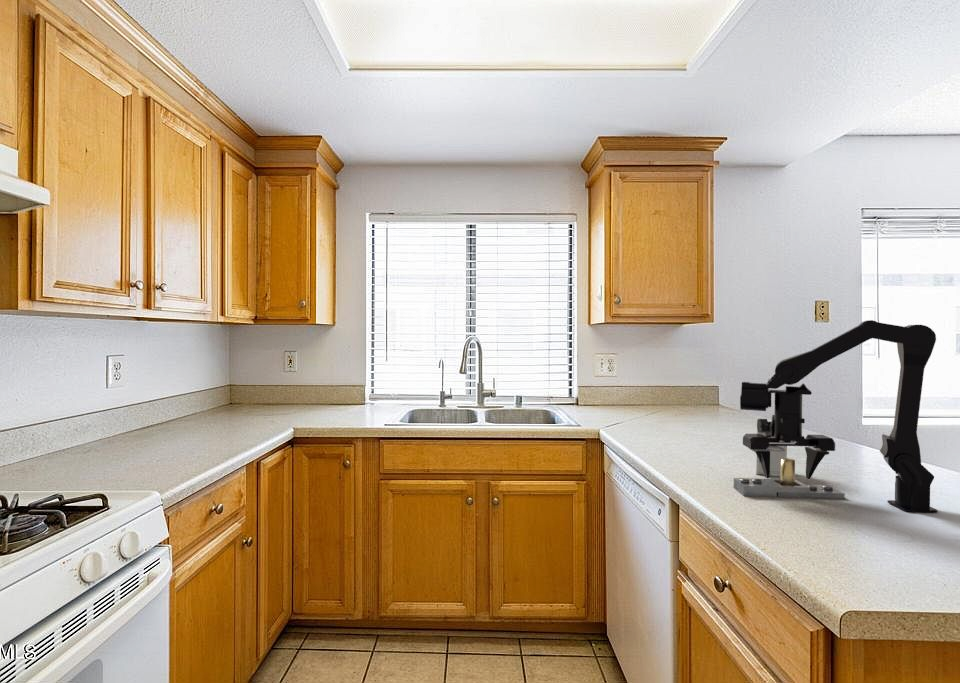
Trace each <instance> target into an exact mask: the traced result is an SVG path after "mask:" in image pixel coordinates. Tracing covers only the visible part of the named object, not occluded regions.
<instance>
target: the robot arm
mask: <svg viewBox="0 0 960 683" xmlns="http://www.w3.org/2000/svg"><path fill="white" fill-rule="evenodd" d="M872 339H873V340H874V339H875V340H878V341H879V340H880V341H885V342H890V343H896V346H897V347H896V348H897V353H898V359H899V363H900V364H899V365H900V370H899V378H898V385H897V386H898V387H897V395H896V404H895V412H894V422H893V427H892V430H891V431H890V434H889V435H887V434H884V433H883V434H881V439H882V440H881V442H882V444H881V445H882V446H881V448H880V449H879V453H880V454H881V455H882V456H883V457H882V458H883V459H884V461H885V462H886V464H887V465H888V466H889V468H890V469H891V470H892V471H894V473H895V474H896V475H895V482H894V483H895V484H894V500H892V499H890V500H887V503H888V504H890V505H892V506H894V507H896V508H898V509H900V510H902V511H904V512H915V513H916V512H917V513H938V512H939V510H938V509H937V508H934V507H933V506H931V485H932V483H933V481H934V479H935V476H934V474H932V473H931V471H929V470H928V469H927V468H926V467H925V466H924V465H922V456H921V449H920V448H921V447H920V443H919V437H918V424H919V417H920V415H919V414H920V408H921V398H922V391H923V381H924V373H925V368H926V366H927V364H928V361H929V359H930V358H931V356H932V353H933V351H934V348H935V344H936V342H937V335H936V333H935V331H934V330H933V329H932V328H931V327H929V326H927V325H924V324H908V325H906V326H901V325H896V324H890V323H889V324H888V323H885V322H884V323H883V322H878V321H876V320H871V319H870V320H869V319H868V320H864V321H861V322H860V323H859V324H858V325H856V326H854V327H853V328H851V329H849V330H847V331H845V332H843V333H842V334H840V335H838V336H836V337H834V338H831V339H830V340H828V341H826V342H824V343H822V344H820V345H819V346H817V347H815V348H812V349H811V350H809V351H805V352H803V353H799V354H796V355H793V356H789V357H787V358H784V359H781V360H780V361H778V362H777V364H776V365H775V369H774V375H772V376H771V378H768V380H767V382H766V383H765V382H764V383H763V382H761V383H760V382H750V381H742V382H741V392H740V393H741V394H740V397H739V398H740V400H739V404H740V407H739V409H740V411H741V410H742V411H754V412H755V411H756V412H757V411H758V412H767V409H769V408H772V394H774V414H772V415H771V421H768V419H767V418H758V419H756V420H757V421H756V422H757V423H756V432H757V431H758V432H759V433H765V436H764V435H762V434H757V433H745V434H744V435H743V437H742V445H743V446H744V447H746V448H748V449H749V450H750V451H752V452H754V453H755V456H756V455H757V456H758V458H759V461H760V463H761V466H762V469H763V472H764V474H765V475H764V474H763V475H764V477H765V479H770V476H771V475H770V451H768V450H767V448H768V447H769V446H787V447H804V451H805V454H806V462H805V478H806V479H807V480H810V479H811V478H812V476H813V475H814V473H815V471H816V469H817V468H818V466H819V464H820V463H821V461H822V460H823V459H824V457H825V456H826V455H830V452H835V451H836V442H835V440H834V439H833V438H832V437H830V436H828V435H827V436H826V435H824V434H807V435H806V437H805V436H804V435H803V424H805V422H806V421H805V420H806V419H805V418H803V395H804V396H805V395H807V396H808V395H812V391H811V390H810V389H809V388H808V387H807V386H806V385H805V383H801V385H800V386H793V385H795V384H797V383H799V382H800V381H801V380H803V379H804V378H805V377H807V376H808V375H810V374H811V373H812V372H813V371H814V370H816V369H817V368H819V366H821V365H823V364H824V363H826V362H828V361H830V360H833V359H834V358H836V357H838V356H840V355H842V354H844V353H846V352H848V351H850V350H852V349H853V348H855V347H858V346H859V345H861V344H863V343H865V342H867V341H870V340H872ZM784 385H786V386H785V389H778V388H781V387H782V386H784ZM787 385H788V386H787ZM768 437H774V438H768ZM780 441H781V442H780Z"/></svg>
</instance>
